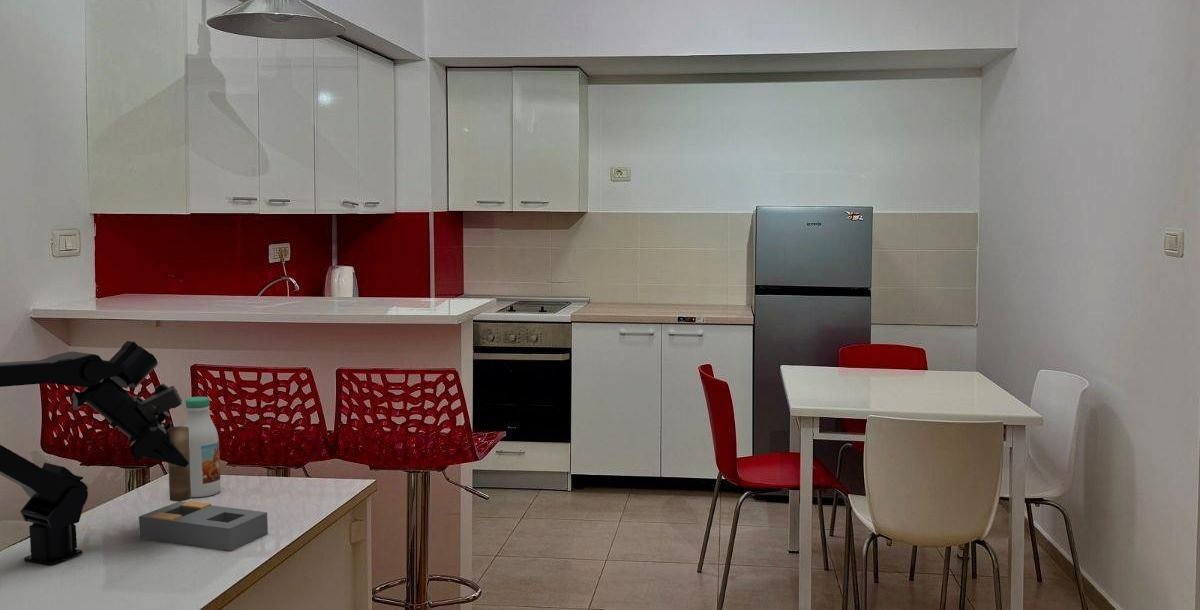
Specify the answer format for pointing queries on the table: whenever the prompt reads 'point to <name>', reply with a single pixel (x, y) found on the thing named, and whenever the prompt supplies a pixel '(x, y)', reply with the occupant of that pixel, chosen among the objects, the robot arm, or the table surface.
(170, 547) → the table surface
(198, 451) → the milk bottle
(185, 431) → the walnut peg
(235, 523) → the grey peg socket base
